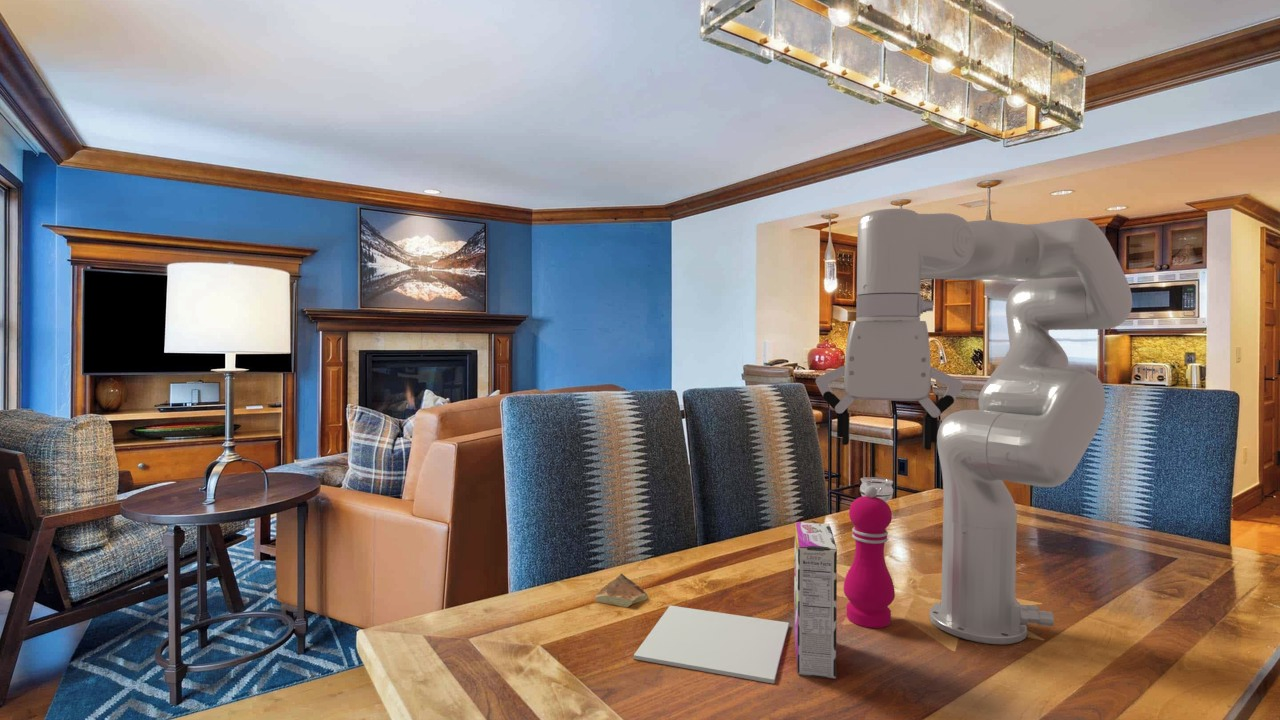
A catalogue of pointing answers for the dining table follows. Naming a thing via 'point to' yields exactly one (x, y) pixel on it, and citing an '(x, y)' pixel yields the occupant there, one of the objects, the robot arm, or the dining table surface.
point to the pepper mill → (869, 563)
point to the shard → (621, 592)
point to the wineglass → (878, 487)
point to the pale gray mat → (716, 643)
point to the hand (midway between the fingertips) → (885, 445)
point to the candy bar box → (815, 600)
